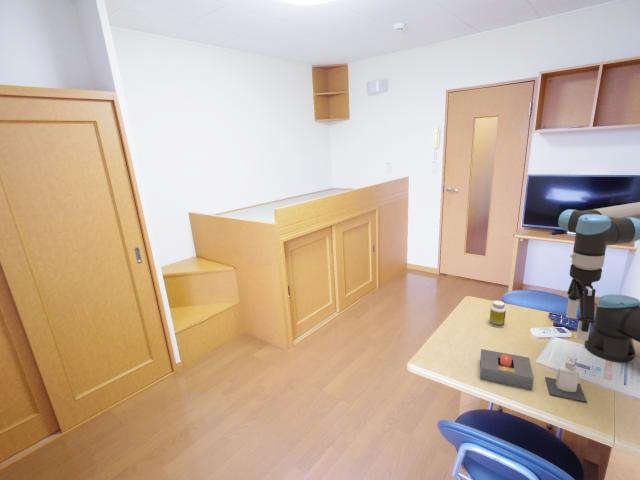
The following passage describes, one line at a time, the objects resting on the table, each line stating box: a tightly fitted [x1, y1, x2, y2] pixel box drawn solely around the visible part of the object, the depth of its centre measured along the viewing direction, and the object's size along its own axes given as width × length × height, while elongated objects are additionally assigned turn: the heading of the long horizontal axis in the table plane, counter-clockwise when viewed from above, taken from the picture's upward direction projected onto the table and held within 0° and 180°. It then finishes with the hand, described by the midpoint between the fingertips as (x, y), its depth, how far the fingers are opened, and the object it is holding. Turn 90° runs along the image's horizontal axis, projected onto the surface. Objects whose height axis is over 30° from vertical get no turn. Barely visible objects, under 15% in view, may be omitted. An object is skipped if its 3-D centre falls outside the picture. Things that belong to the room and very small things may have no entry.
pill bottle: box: [488, 300, 507, 328], centre depth 154 cm, size 6×6×11 cm
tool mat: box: [544, 376, 588, 404], centre depth 113 cm, size 10×9×1 cm
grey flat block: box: [479, 348, 535, 391], centre depth 122 cm, size 16×12×5 cm
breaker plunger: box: [500, 353, 512, 368], centre depth 121 cm, size 4×4×6 cm
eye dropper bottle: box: [555, 357, 580, 392], centre depth 112 cm, size 4×6×12 cm
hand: (576, 327), depth 107 cm, fingers open, 13 cm apart
